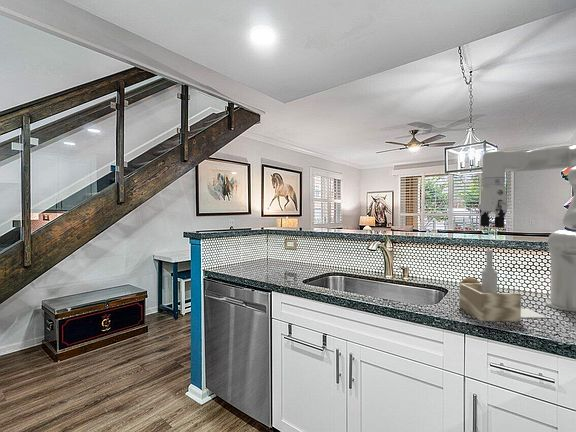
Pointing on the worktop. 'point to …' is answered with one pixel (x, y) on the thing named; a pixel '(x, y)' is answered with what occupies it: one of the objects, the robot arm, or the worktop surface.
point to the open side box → (489, 303)
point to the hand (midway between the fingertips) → (491, 226)
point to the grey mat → (530, 314)
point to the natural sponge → (470, 280)
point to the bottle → (489, 275)
